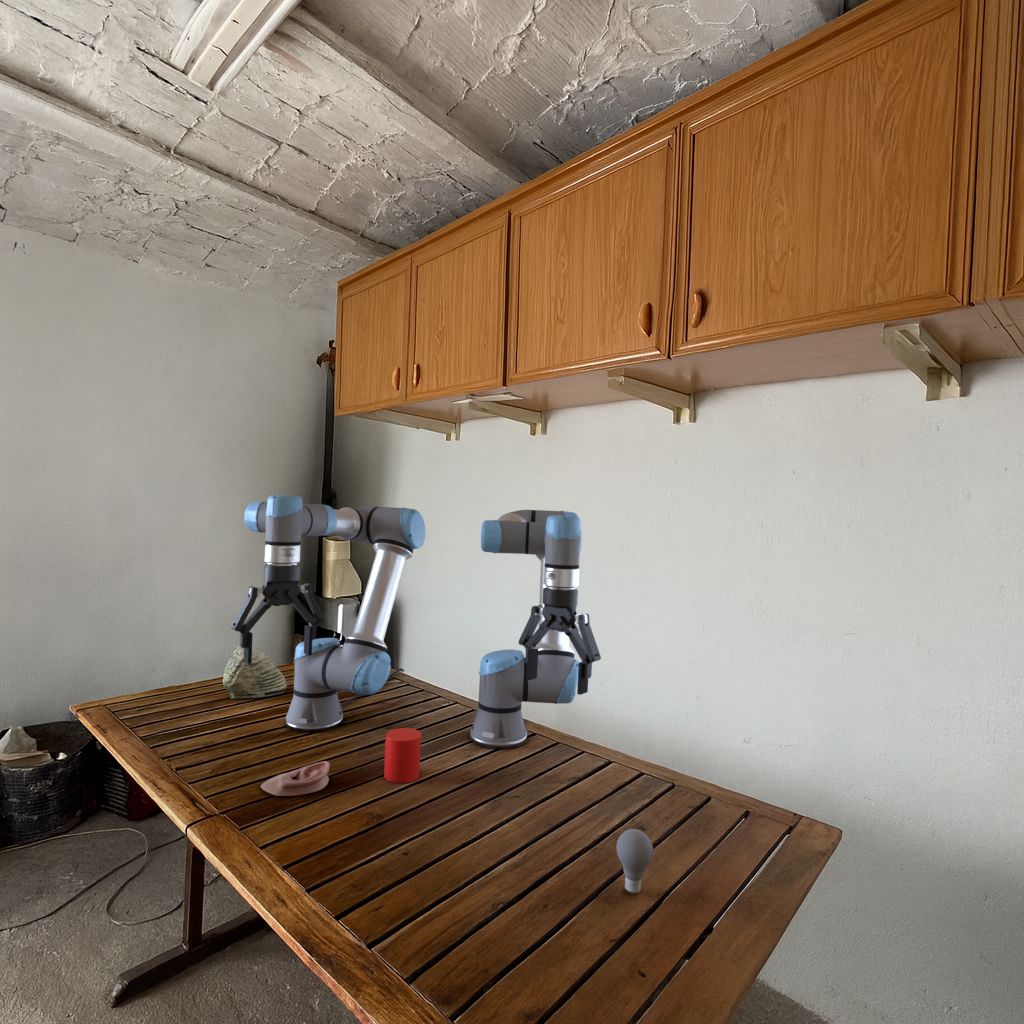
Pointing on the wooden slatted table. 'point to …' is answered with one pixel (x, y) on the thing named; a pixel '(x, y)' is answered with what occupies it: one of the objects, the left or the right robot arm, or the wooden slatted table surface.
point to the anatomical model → (299, 780)
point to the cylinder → (402, 755)
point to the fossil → (252, 675)
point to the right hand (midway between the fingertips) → (556, 685)
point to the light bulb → (634, 857)
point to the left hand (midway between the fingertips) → (278, 658)
